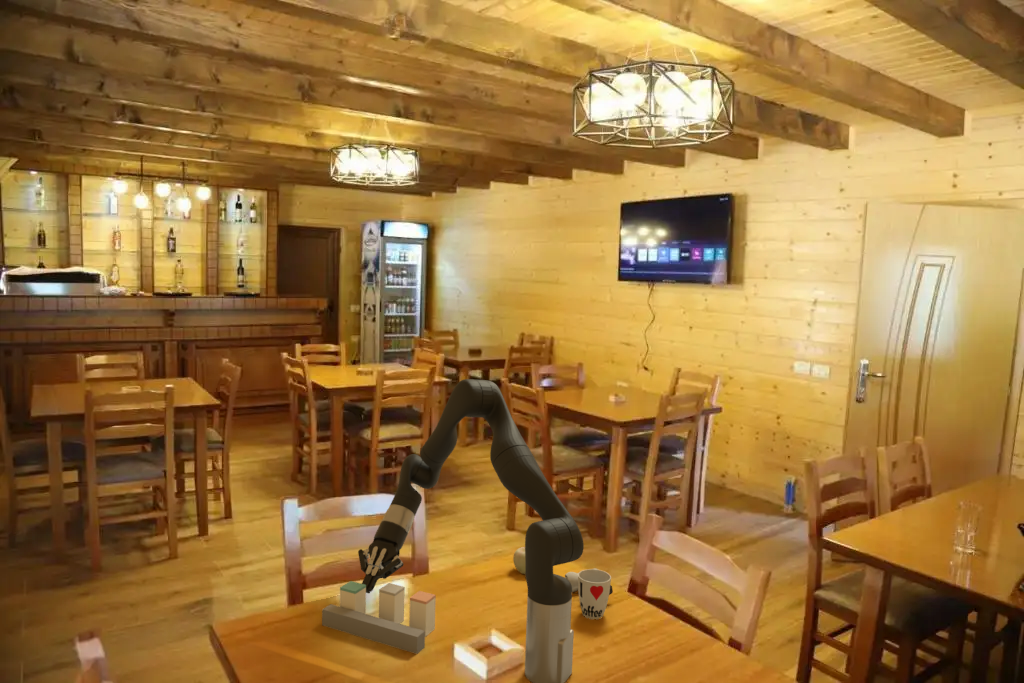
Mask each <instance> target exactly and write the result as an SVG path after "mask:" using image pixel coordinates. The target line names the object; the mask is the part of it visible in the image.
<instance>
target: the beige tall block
mask: <svg viewBox="0 0 1024 683" xmlns="http://www.w3.org/2000/svg"><path fill="white" fill-rule="evenodd" d="M405 591H406V590H405V586H403V585H398V584H394V583H391V582H388V583H387V584H385V585H384V586H382V587H380V588H379V589H378V618H381V619H385V620H388V621H392V622H395V623H399V624H402V622H404V621H405Z"/></svg>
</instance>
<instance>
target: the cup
mask: <svg viewBox="0 0 1024 683" xmlns="http://www.w3.org/2000/svg"><path fill="white" fill-rule="evenodd" d="M596 569H597V568H596ZM596 569H594V568H589V569H583V570H580V571H579V572H577V573H578V599H579V600H578V601H579V606H580V609H581V613H582V616H583V617H584V616H585V617H584V618H586V619H588V618H589V619H588V620H594V619H596V620H599V618H600V619H602V618H603V617H604V615H605V612H606V609H607V605H608V600H609V596H610V595H609V592H610V585H611V583H612V576H611V575H610V573H608V572H607V571H605V570H601V569H598V570H596ZM601 617H602V618H601Z"/></svg>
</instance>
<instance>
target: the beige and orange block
mask: <svg viewBox="0 0 1024 683" xmlns="http://www.w3.org/2000/svg"><path fill="white" fill-rule="evenodd" d="M436 598H437V597H436V594H433V593H430V592H425V591H422V590H418V591H417V592H415V593H414V594H413V595H411V596H410V597H409V616H408V618H409V621H408V623H409V625H408V626H409V627H413V628H416V629H420V630H423V631H425V638H426V637H427V636H428V635H430V634H431V633H432V632H433V631H434V630H435V629H436Z"/></svg>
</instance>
